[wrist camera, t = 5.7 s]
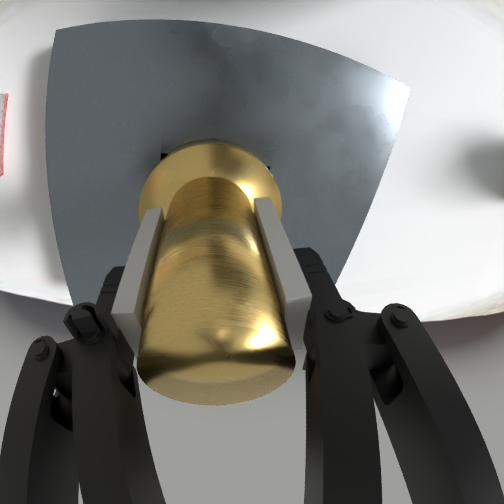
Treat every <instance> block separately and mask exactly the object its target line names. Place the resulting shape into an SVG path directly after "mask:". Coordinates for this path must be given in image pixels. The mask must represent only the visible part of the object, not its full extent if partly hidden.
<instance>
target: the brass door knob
mask: <svg viewBox="0 0 504 504" xmlns="http://www.w3.org/2000/svg"><path fill="white" fill-rule="evenodd" d="M261 197H270V199H271V201H272V203H273V205H274V208H275V210H276V212H277V214H278V217H279V219H280V221H281V215H282V201H281V195H280V192H279V189H278V186H277V184H276V182H275V180H274V178H273V176H272V174H271V173H270V171H269V170H268V168H267V167H266V165H265V164H264V163H263V162H262V161H261V160H260V159H259V158H258V157H257V156H255V155H254V154H253V153H252V152H250V151H248V150H246V149H245V148H243V147H240V146H238V145H236V144H232V143H229V142H225V141H216V140H205V141H198V142H193V143H190V144H186V145H184V146H182V147H179V148H177V149H175V150H174V151H172V152H171V153H169V154H168V155H166V156H165V157H164V158H163V159H162V160H161V161H160V162H159V163H158V164H157V165H156V166H155V168H154V169H153V170H152V172H151V173H150V175H149V177H148V179H147V180H146V182H145V185H144V187H143V189H142V192H141V195H140V200H139V220H140V224H141V223H142V220H143V218H144V215H145V213H146V210H147V209H151V208H159V207H162V209H163V214H164V219H165V223H164V227H163V230H162V234H161V238H160V242H159V246H158V251H157V255H156V259H155V264H154V268H153V273H152V277H151V282H150V287H149V292H148V297H147V302H146V307H145V313H144V318H143V324H142V330H141V337H140V343H139V350H138V357H137V371H138V374H139V376H140V378H141V379H142V380H143V381H144V383H145V384H146V385H147V386H149V387H150V388H151V389H153V390H154V391H156V392H157V393H159V394H161V395H164V396H166V397H168V398H171V399H174V400H177V401H181V402H186V403H191V404H199V405H226V404H234V403H240V402H244V401H249V400H252V399H255V398H258V397H261V396H263V395H265V394H267V393H270V392H272V391H273V390H275V389H277V388H278V387H279V386H281V385H282V384H283V383H285V382H286V381H287V379H288V378H289V377H290V376H291V374H292V373H293V371H294V368H295V363H296V361H295V356H294V352H293V348H292V345H291V341H290V337H289V334H288V330H287V327H286V323H285V320H284V316H283V313H282V309H281V306H280V302H279V299H278V295H277V292H276V288H275V285H274V281H273V278H272V274H271V271H270V267H269V264H268V261H267V257H266V254H265V250H264V247H263V243H262V240H261V237H260V233H259V230H258V226H257V223H256V220H255V216H254V198H261Z"/></svg>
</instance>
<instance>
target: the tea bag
mask: <svg viewBox="0 0 504 504" xmlns="http://www.w3.org/2000/svg"><path fill="white" fill-rule="evenodd" d="M7 100H8V94H0V176H2V175H3V144H4V127H5V116H6V107H7Z"/></svg>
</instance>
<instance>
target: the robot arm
mask: <svg viewBox="0 0 504 504" xmlns="http://www.w3.org/2000/svg"><path fill="white" fill-rule="evenodd" d="M254 216H255V220H256V223H257V226H258V230H259V233H260V237H261V240H262V243H263V247H264V250H265V254H266V257H267V261H268V264H269V267H270V271H271V274H272V278H273V281H274V285H275V288H276V292H277V295H278V299H279V302H280V306H281V309H282V313H283V316H284V320H285V323H286V327H287V330H288V334H289V337H290V341H291V345H292V348H293V350H298V349H302V345H303V340H304V344H305V347H306V350H307V353H306V357H305V361H304V365H303V370H305V371H306V469H305V495H304V496H305V497H304V504H382V483H381V465H380V452H379V440H378V431H377V423H376V414H375V407H374V400H375V403H376V405H377V407H378V410H379V412H380V415H381V417H382V420H383V422H384V425H385V427H386V430H387V433H388V435H389V438H390V440H391V443H392V446H393V448H394V451H395V454H396V457H397V459H398V462H399V465H400V468H401V470H402V473H403V476H404V479H405V482H406V485H407V488H408V491H409V494H410V497H411V500H412V503H413V504H504V496H503V492H502V489H501V485H500V482H499V479H498V476H497V473H496V470H495V468H494V465H493V462H492V459H491V457H490V454H489V452H488V449H487V446H486V444H485V441H484V439H483V437H482V434H481V432H480V430H479V428H478V425H477V423H476V421H475V419H474V417H473V414H472V413H471V410H470V408H469V406H468V404H467V402H466V400H465V398H464V396H463V394H462V392H461V391H460V389H459V387H458V385H457V383H456V381H455V379H454V377H453V375H452V374H451V372H450V370H449V368H448V367H447V365H446V363H445V362H444V359H443V358H442V356H441V354H440V353H439V351H438V349H437V348H436V346H435V344H434V343H433V341H432V340H431V338H430V336H429V335H428V333H427V331H426V330H425V328H424V327H423V325H422V324H421V322H420V320H419V319H418V317H417V316H416V314H415V313H414V312H413V311H412V310H411V309H410V308H408V307H407V306H405V305H402V304H398V303H394V304H389V305H387V306H385V307H384V309H383V310H382V312H381V313H369V312H361V311H357V310H356V309H355V307H354V306H353V305H352V304H350V303H349V302H347V301H345V300H343V299H342V298H341V296H340V294H339V292H338V290H337V288H336V286H335V284H334V283H333V281H332V279H331V277H330V275H329V273H328V272H327V269H326V267H325V265H324V264H323V261H322V259H321V257H320V256H319V254H318V253H317V252H315V251H314V250H313V249H312V248H310V247H306V248H296V249H292V246H291V244H290V242H289V239H288V237H287V235H286V232H285V230H284V228H283V226H282V223H281V221H280V219H279V217H278V214H277V212H276V210H275V208H274V205H273V203H272V201H271V199H270V197H261V198H254ZM164 223H165V219H164V214H163V209H162V207H159V208H151V209H147V210H146V213H145V215H144V218H143V220H142V223H141V225H140V228H139V230H138V233H137V236H136V238H135V241H134V244H133V246H132V249H131V252H130V255H129V257H128V260H127V263H126V266H118V267H113V268H112V269H111V271H110V272H109V273H108V274H107V275H106V277H105V280H104V283H103V287H102V288H101V291H100V294H99V296H98V299H97V302H96V305H95V304H93V303H90V302H83V303H80V304H77V305H75V306H74V307H73V308H71V309H70V310H69V311H68V313H67V314H66V315H65V318H64V320H63V322H64V324H65V325H66V327H67V328H68V329H69V331H70V333H71V334H72V336H73V337H74V339H71V340H68V341H65V342H62V343H58V344H57V343H56V342H55V341H54V340H53V338H52V337H49V336H42V337H40V338H38V339H36V340H35V341H34V342H33V343H32V344H31V346H30V348H29V350H28V352H27V355H26V358H25V360H24V363H23V366H22V369H21V372H20V375H19V378H18V381H17V384H16V387H15V391H14V394H13V398H12V401H11V405H10V409H9V413H8V417H7V422H6V426H5V432H4V437H3V442H2V448H1V455H0V504H78V490H79V483H80V489H81V494H82V499H83V504H166V502H165V499H164V496H163V493H162V490H161V486H160V483H159V480H158V476H157V473H156V469H155V465H154V461H153V457H152V453H151V449H150V445H149V440H148V435H147V431H146V426H145V421H144V415H143V411H142V404H141V398H140V391H139V384H138V377H137V372H136V370H135V368H134V366H133V360H134V356H135V357H136V359H137V357H138V350H139V343H140V337H141V330H142V324H143V318H144V313H145V307H146V302H147V297H148V292H149V287H150V282H151V277H152V273H153V268H154V264H155V259H156V255H157V251H158V246H159V242H160V238H161V234H162V230H163V227H164ZM54 389H56V393H55V395H53V393H54ZM373 398H374V399H373Z"/></svg>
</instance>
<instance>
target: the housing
mask: <svg viewBox="0 0 504 504" xmlns="http://www.w3.org/2000/svg"><path fill="white" fill-rule="evenodd" d="M409 91H410V87H408V86H406V85H404V84H402V83H401V82H399V81H397V80H395V79H393V78H391V77H389V76H387V75H385V74H383V73H381V72H379V71H377V70H375V69H373V68H370V67H368V66H366V65H364V64H361V63H359V62H357V61H354V60H352V59H350V58H347V57H345V56H342V55H339V54H337V53H334V52H331V51H329V50H326V49H323V48H320V47H317V46H314V45H311V44H308V43H305V42H301V41H298V40H294V39H291V38H287V37H283V36H279V35H275V34H271V33H267V32H263V31H258V30H253V29H248V28H242V27H236V26H230V25H223V24H216V23H207V22H197V21H183V20H125V21H112V22H102V23H94V24H87V25H80V26H74V27H69V28H64V29H59V30H56V33H55V38H54V43H53V49H52V55H51V61H50V69H49V77H48V87H47V101H46V162H47V176H48V186H49V195H50V203H51V211H52V217H53V223H54V229H55V234H56V239H57V244H58V249H59V254H60V258H61V262H62V266H63V270H64V274H65V278H66V282H67V285H68V289H69V292H70V296H71V299H72V302H73V305H74V306H75V305H77V304H80V303H83V302H90V303H93V304H95V305H96V302H97V299H98V296H99V294H100V291H101V288H102V287H103V283H104V280H105V277H106V275H107V274H108V273H109V272H110V271H111V269H112V268H113V267H118V266H126V263H127V260H128V257H129V255H130V252H131V249H132V246H133V244H134V241H135V238H136V236H137V233H138V230H139V228H140V225H141V224H140V220H139V200H140V195H141V192H142V189H143V187H144V185H145V182H146V180H147V179H148V177H149V175H150V173H151V172H152V170H153V169H154V168H155V166H156V165H157V164H158V163H159V162H160V161H161V160H162V159H163V158H164V157H165V156H166V155H168V154H169V153H171V152H172V151H174V150H175V149H177V148H179V147H182V146H184V145H186V144H190V143H193V142H198V141H205V140H216V141H225V142H229V143H232V144H236V145H238V146H240V147H243V148H245V149H246V150H248V151H250V152H252V153H253V154H254V155H255V156H257V157H258V158H259V159H260V160H261V161H262V162H263V163H264V164H265V165H266V167H267V168H268V170H269V171H270V173H271V174H272V176H273V178H274V180H275V182H276V184H277V186H278V189H279V192H280V195H281V201H282V215H281V223H282V226H283V228H284V230H285V232H286V235H287V237H288V239H289V242H290V244H291V246H292V249H296V248H306V247H310V248H312V249H313V250H314V251H315V252H317V253H318V254H319V256H320V257H321V259H322V261H323V264H324V265H325V267H326V269H327V272H328V273H329V275H330V277H331V279H332V281H333V283H334V284H336V282H337V280H338V278H339V276H340V274H341V271H342V269H343V267H344V265H345V263H346V261H347V259H348V257H349V254H350V252H351V250H352V248H353V246H354V243H355V241H356V239H357V237H358V234H359V232H360V230H361V228H362V225H363V223H364V221H365V218H366V216H367V213H368V211H369V209H370V206H371V204H372V201H373V199H374V196H375V194H376V191H377V188H378V186H379V183H380V181H381V178H382V175H383V173H384V170H385V167H386V164H387V162H388V159H389V156H390V153H391V150H392V147H393V144H394V141H395V138H396V135H397V132H398V129H399V126H400V122H401V119H402V116H403V113H404V109H405V106H406V102H407V99H408V95H409Z"/></svg>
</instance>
